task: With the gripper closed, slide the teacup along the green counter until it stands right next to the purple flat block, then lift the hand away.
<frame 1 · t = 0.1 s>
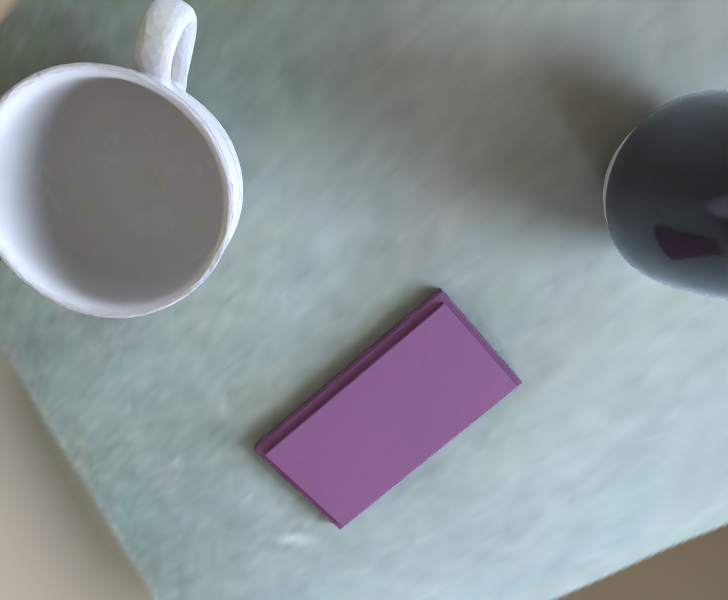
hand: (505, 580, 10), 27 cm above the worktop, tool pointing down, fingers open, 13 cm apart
purple flat block: (387, 412, 39), on the worktop
teacup: (161, 152, 34), on the worktop
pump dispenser: (658, 185, 37), on the worktop
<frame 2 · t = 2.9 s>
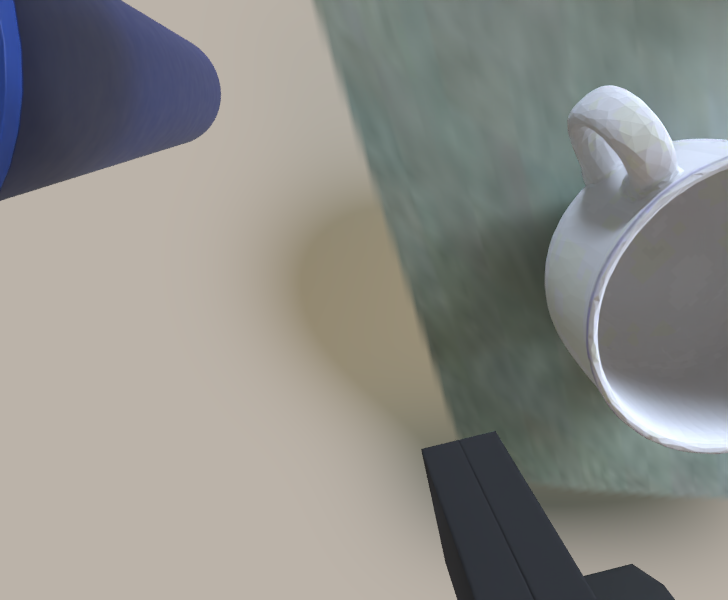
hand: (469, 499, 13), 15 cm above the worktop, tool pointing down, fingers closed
teacup: (618, 227, 28), on the worktop
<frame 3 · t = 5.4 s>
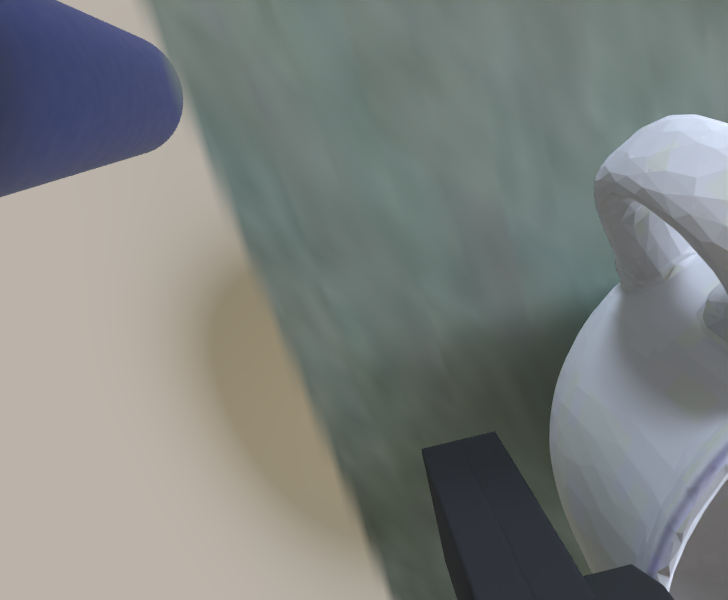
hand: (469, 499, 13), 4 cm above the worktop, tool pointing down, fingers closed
teacup: (669, 332, 17), on the worktop, touching gripper
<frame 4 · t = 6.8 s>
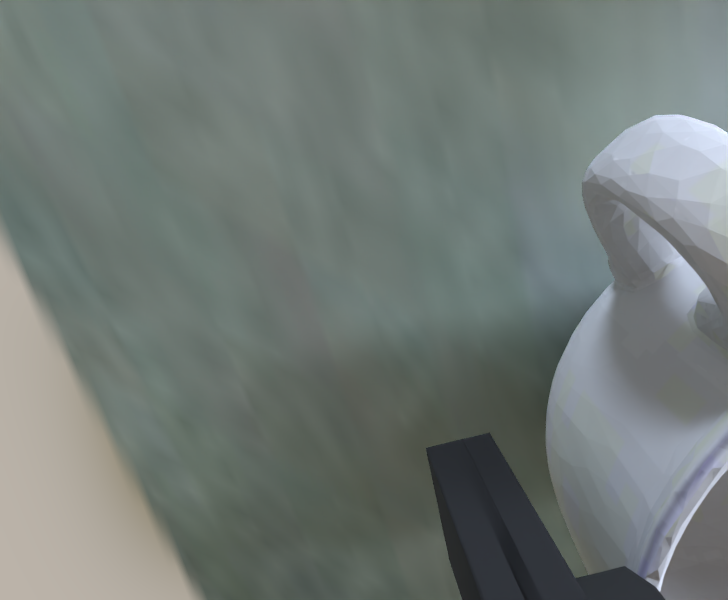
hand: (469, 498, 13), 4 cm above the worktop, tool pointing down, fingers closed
teacup: (668, 328, 17), on the worktop, touching gripper
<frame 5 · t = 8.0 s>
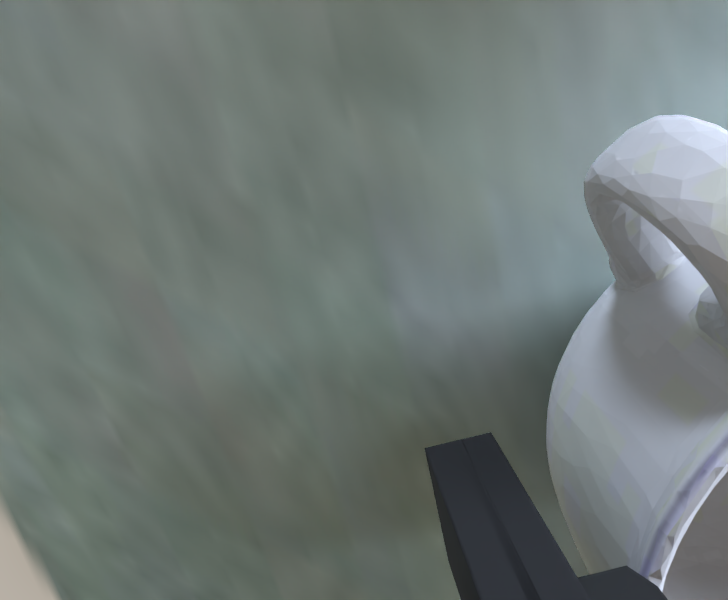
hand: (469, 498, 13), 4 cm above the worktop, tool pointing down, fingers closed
teacup: (667, 329, 17), on the worktop, touching gripper
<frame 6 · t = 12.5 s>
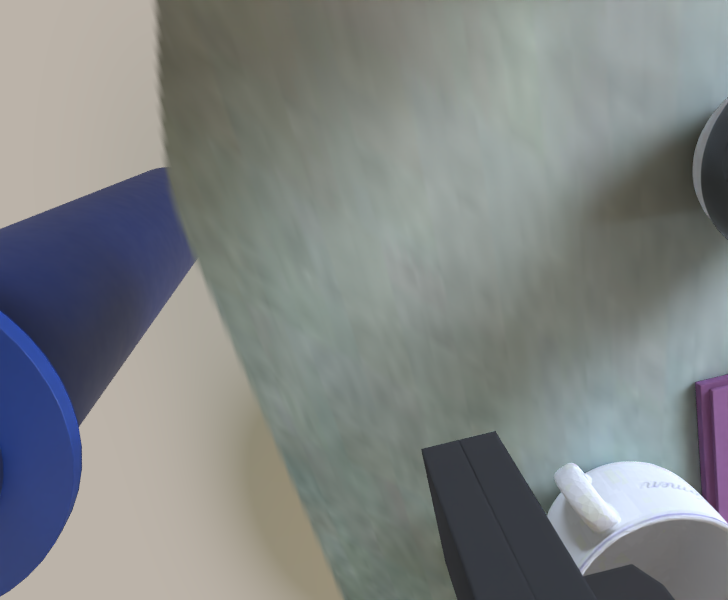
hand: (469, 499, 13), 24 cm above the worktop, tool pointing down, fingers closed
teacup: (591, 493, 42), on the worktop
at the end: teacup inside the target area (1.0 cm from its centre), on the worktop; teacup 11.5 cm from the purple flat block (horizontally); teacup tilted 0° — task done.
